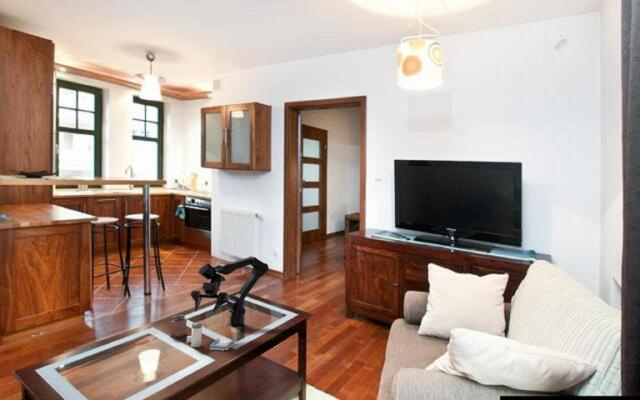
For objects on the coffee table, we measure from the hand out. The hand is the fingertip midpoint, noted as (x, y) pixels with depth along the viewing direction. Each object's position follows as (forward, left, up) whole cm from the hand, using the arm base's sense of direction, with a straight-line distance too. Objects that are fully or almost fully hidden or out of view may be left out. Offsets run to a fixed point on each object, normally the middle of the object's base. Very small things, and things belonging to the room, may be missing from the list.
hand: (204, 311), depth 173 cm
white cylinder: (+5, +6, -13) cm, 15 cm away
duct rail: (+5, +1, -13) cm, 14 cm away
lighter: (+10, -11, -14) cm, 20 cm away
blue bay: (-6, +13, -13) cm, 19 cm away
